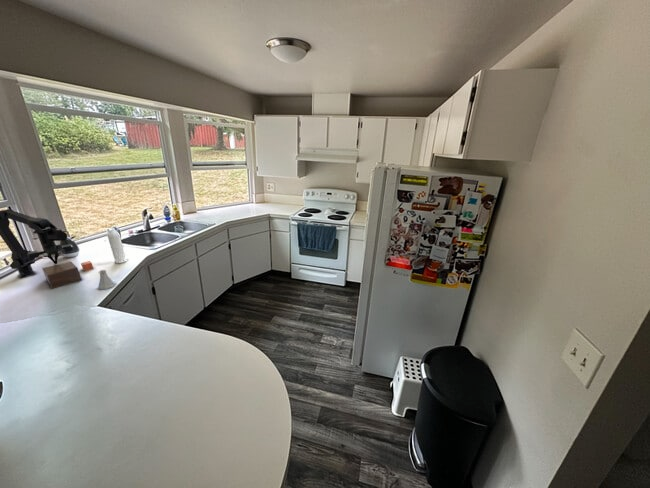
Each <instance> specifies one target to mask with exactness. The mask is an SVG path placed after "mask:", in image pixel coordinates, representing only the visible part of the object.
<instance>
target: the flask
mask: <svg viewBox="0 0 650 488" xmlns="http://www.w3.org/2000/svg"><path fill="white" fill-rule="evenodd" d="M98 274H99V282H98V286H97V288H98V289H100V290H108V289H110V288H112V287H114V286H115V285H116V283H115V282H114V281H113V280H112V279H111V278H110V277H109V276H108V274H107V270H106V269H102V270H99V271H98Z"/></svg>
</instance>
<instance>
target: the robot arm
mask: <svg viewBox="0 0 650 488" xmlns="http://www.w3.org/2000/svg"><path fill="white" fill-rule="evenodd" d="M10 220H12V221H15V222H18V223H21V224H24V225H26V226H28V228H29V229H31V230H33V232H32V234H36V235H37V238H38V240H39V243H40V245H41V248H42V250H41V251H37V250H32V251H31V250H27V249H25V248H24V247H23V246H22V244H21V242H20V241H19V239H18V238H17V236H16V235H15V234H14V232H13V230H12V229H11V228H10V223H11V221H10ZM67 237H68V234H67V233H66V232H65V231H63V230H62V229H60V228H59V229H58V227H57V226H56V225H55V224H53V223H52V222H51V221H50V220H49V219H47V218H43V217H34V216H30V215H27V214H24V213H21V212H18V211H15V210H14V209H10V208H7V209H1V210H0V238H1V239H2V240H3V242H4V243H5V245H6V247H8V249H9V251H10V252H11V256H10V258H11V260H12V262H11V263H10V265H9V267H10V268H11V269H12V270H17V272H18V276H19V279H23V278H26V277H31V276H34V275H35V276H36V275H37V273H36V271H35V270H34V269H33V267H32V265H33V264H35V263H36V261H35V260H36V259H37V258H39V257H40V256H41V255H42V256H43V257H44V258H48V259H49V260H50V261H51V262H52V263H53V265H57V264H58V260H59V256H60V255H62V254H61V252H60V251H62V250H65V251H71V250H74V249H73V246H72V245H70V244H68V245H63V246H61V245H59V244H57V243H56V242H60V241H64V240H66V239H67Z"/></svg>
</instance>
